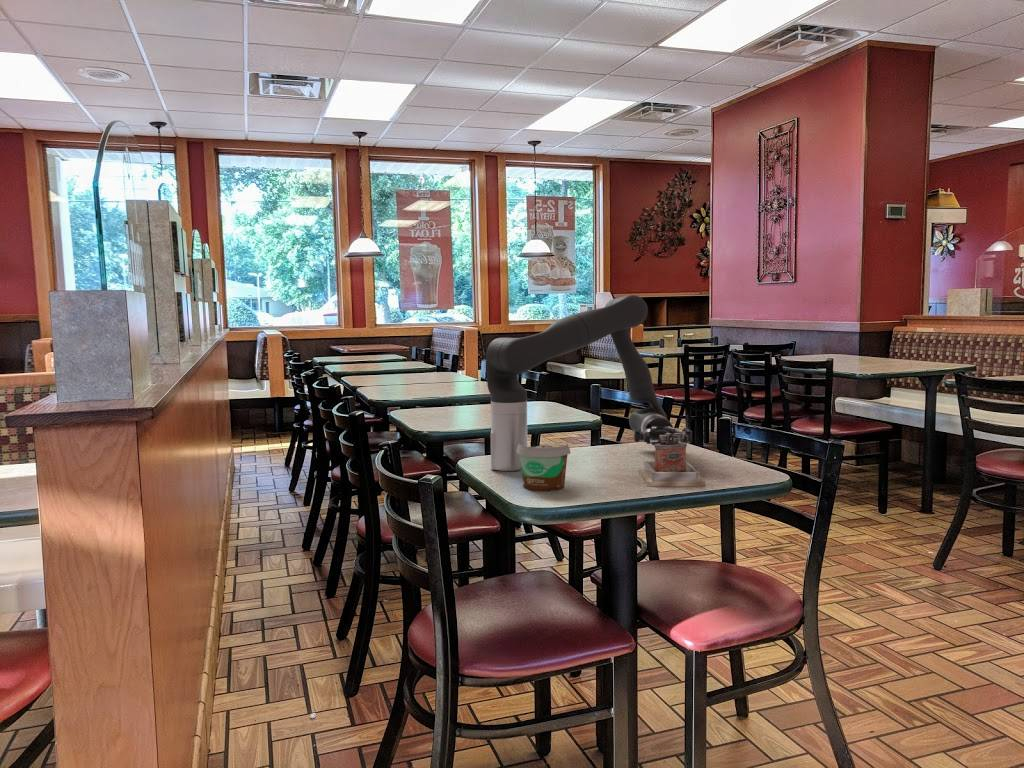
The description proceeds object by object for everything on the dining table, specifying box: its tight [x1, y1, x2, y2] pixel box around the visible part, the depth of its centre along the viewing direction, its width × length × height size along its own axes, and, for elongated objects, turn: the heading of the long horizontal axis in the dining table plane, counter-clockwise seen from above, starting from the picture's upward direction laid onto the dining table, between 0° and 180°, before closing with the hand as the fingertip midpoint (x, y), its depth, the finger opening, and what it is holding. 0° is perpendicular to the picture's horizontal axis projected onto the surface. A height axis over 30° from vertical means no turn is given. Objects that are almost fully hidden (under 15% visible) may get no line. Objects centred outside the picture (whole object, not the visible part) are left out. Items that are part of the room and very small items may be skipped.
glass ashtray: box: [638, 460, 706, 487], centre depth 178 cm, size 13×14×3 cm
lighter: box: [654, 433, 688, 472], centre depth 177 cm, size 8×3×10 cm, turn 107°
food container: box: [517, 443, 571, 493], centre depth 169 cm, size 12×6×10 cm, turn 76°
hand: (666, 439), depth 183 cm, fingers open, 8 cm apart
